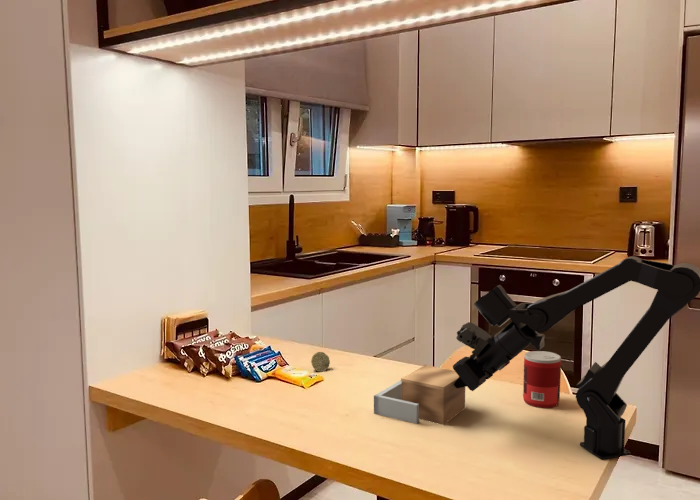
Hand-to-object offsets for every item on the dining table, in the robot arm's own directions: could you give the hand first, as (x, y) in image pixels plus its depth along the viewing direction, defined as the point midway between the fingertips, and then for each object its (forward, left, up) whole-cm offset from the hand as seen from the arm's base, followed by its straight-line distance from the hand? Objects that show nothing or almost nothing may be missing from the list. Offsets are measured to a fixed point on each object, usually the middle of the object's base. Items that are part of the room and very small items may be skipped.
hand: (455, 386), depth 130 cm
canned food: (-22, -2, -7) cm, 24 cm away
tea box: (+3, -4, -7) cm, 9 cm away
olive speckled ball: (+20, -40, -7) cm, 45 cm away
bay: (+7, -8, -7) cm, 13 cm away
